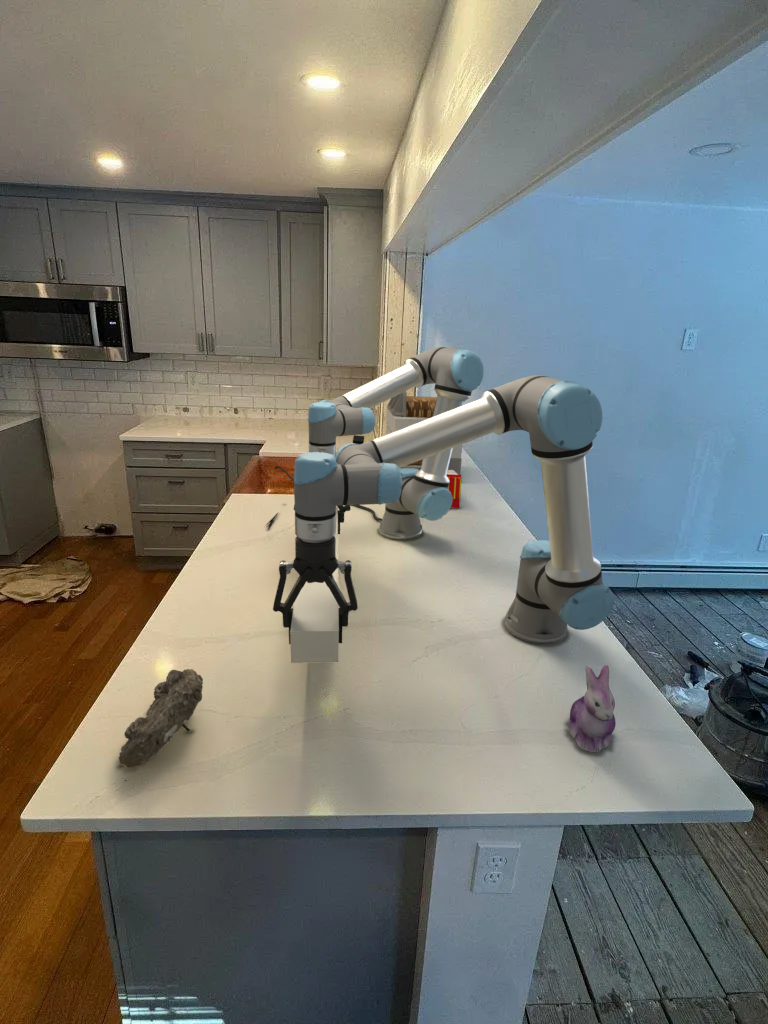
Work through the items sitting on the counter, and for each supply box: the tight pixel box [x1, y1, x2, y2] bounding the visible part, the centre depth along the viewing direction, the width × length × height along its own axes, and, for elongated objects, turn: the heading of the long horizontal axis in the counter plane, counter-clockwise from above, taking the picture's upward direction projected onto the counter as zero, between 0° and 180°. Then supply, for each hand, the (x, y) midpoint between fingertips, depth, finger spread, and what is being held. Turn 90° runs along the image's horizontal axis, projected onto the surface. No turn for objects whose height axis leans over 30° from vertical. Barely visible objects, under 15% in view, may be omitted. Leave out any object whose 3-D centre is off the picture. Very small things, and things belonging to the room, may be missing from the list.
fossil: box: [118, 668, 204, 768], centre depth 103 cm, size 22×10×15 cm
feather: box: [265, 512, 279, 530], centre depth 210 cm, size 2×28×2 cm
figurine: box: [568, 664, 617, 753], centre depth 105 cm, size 9×10×15 cm
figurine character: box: [352, 435, 365, 445], centre depth 310 cm, size 7×8×15 cm
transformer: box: [385, 390, 463, 475], centre depth 268 cm, size 34×33×41 cm
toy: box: [447, 470, 463, 509], centre depth 239 cm, size 12×13×30 cm
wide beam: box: [289, 506, 340, 664], centre depth 139 cm, size 71×9×7 cm, turn 5°
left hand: (322, 532), depth 167 cm, fingers closed on wide beam, 9 cm apart
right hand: (315, 639), depth 113 cm, fingers closed on wide beam, 9 cm apart
